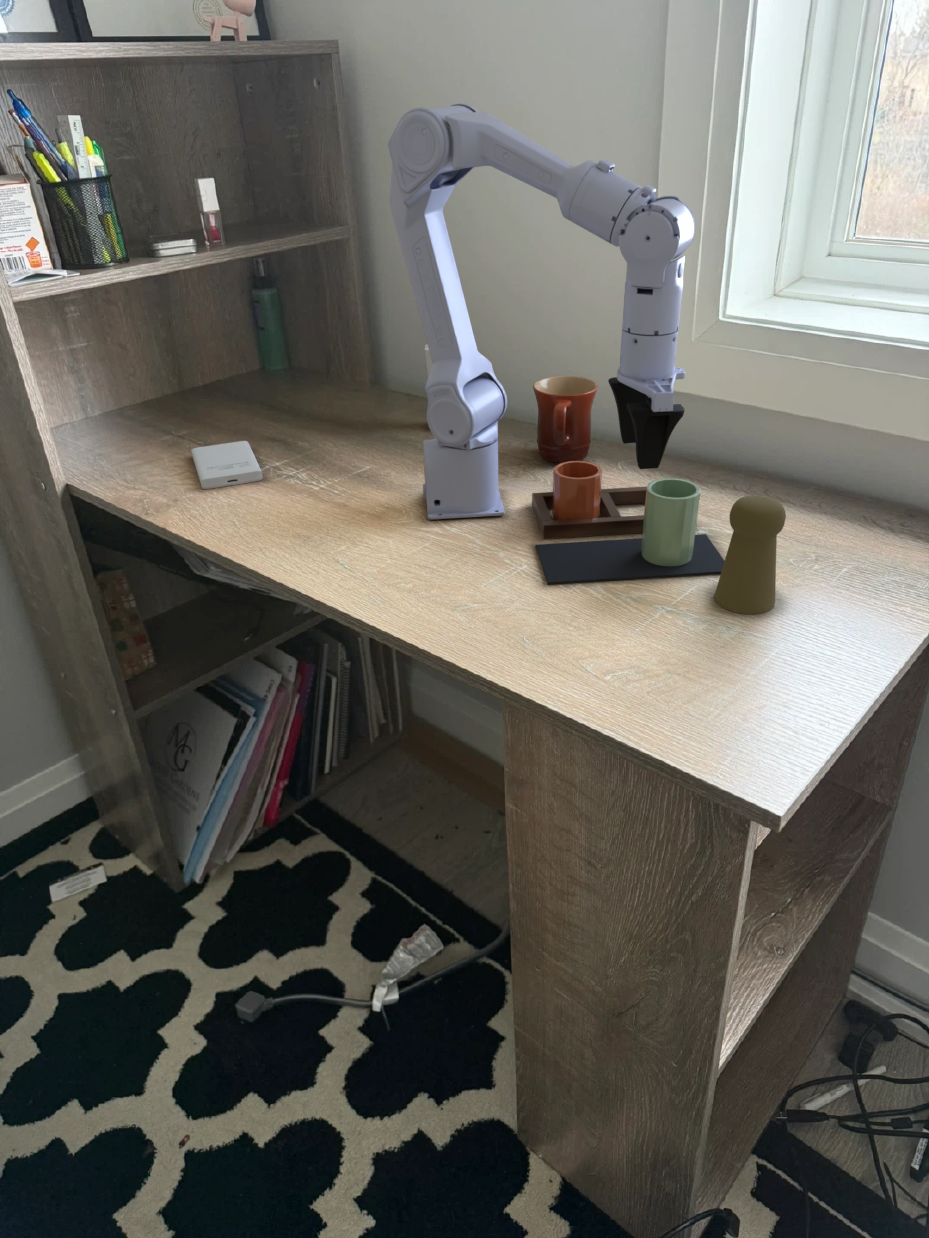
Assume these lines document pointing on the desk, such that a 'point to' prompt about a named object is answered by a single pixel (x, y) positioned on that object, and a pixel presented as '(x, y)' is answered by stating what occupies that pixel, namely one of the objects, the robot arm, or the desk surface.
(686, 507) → the cup
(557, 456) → the mug
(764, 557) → the olive pepper mill
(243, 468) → the hard drive
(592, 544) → the desk mat
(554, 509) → the terracotta cup
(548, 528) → the holder
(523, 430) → the desk surface
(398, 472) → the desk surface
